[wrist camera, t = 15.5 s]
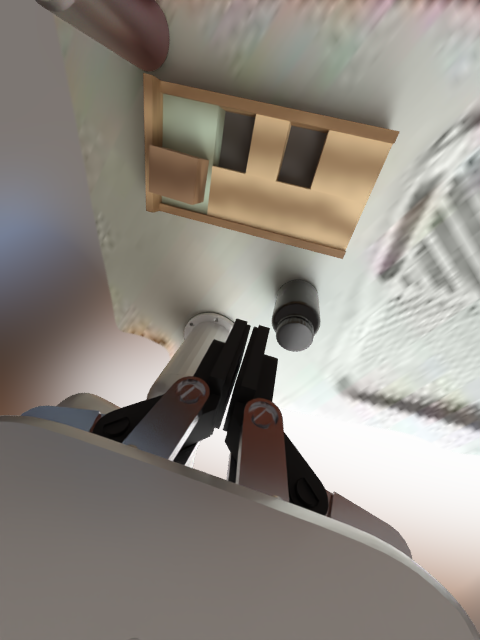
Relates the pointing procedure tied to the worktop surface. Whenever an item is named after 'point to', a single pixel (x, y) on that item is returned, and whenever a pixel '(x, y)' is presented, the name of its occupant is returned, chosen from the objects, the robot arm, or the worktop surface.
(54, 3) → the beverage can
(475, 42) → the worktop surface
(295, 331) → the supplement bottle
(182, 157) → the walnut block
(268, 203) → the trap trough
